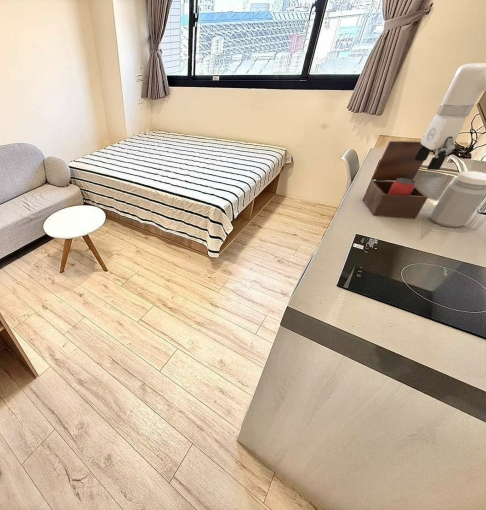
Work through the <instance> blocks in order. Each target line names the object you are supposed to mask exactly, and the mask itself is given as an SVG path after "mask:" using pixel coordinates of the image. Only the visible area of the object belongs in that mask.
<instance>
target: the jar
mask: <svg viewBox="0 0 486 510" xmlns="http://www.w3.org/2000/svg"><path fill="white" fill-rule="evenodd" d="M485 198H486V172H483V171H482V172H481V171H475V170H474V171H473V170H463V171H460V172H459V173H458V174H457V176H456V179H454V182H452V183H450V184H448V185H447V187H446V189H445V191H444V192H443V193H442V195H441V197H440V198H439V200H438V202H437V204H436V205H435V206H434V208H433V210H432V212H431V213H430V219H431V221H432V222H433V223H435V224H437V225H440V226H443V227H447V228H460V227H462V226H464V225H466V224H467V223H468V221H469V220H470V219H471V217H472V216H473V214H474V213H475V212H476V210H477V209H478V207H479V206H480V205H481V203H482V202H483V200H484V199H485Z"/></svg>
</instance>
